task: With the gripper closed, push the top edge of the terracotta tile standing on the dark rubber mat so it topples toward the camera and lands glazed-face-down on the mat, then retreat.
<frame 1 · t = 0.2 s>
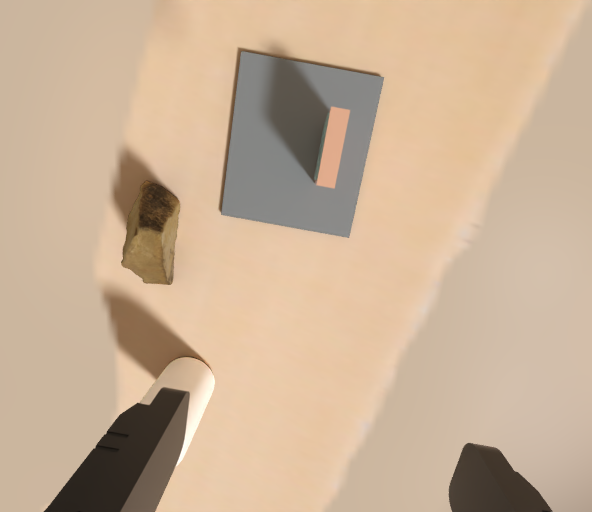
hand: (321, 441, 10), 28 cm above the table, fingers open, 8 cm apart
tile: (327, 155, 34), point 1 cm above the table, touching mat
mat: (298, 150, 35), on the table
rock: (162, 235, 37), on the table
can: (190, 377, 41), on the table
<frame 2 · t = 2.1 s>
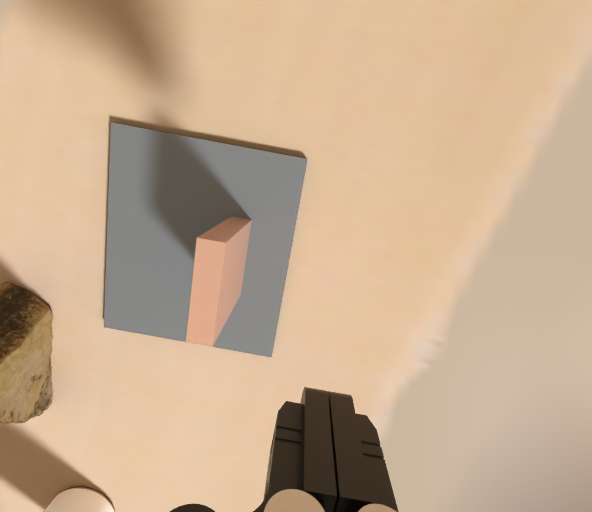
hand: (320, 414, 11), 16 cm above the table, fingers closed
tile: (236, 256, 25), point 1 cm above the table, touching mat
mat: (200, 247, 26), on the table
rock: (34, 346, 29), on the table
can: (87, 507, 33), on the table
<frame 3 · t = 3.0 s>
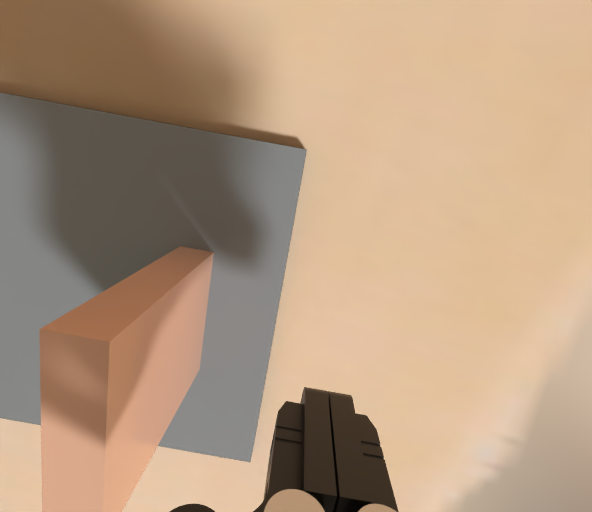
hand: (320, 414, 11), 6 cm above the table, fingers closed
tile: (190, 310, 16), point 1 cm above the table, touching mat
mat: (133, 294, 16), on the table
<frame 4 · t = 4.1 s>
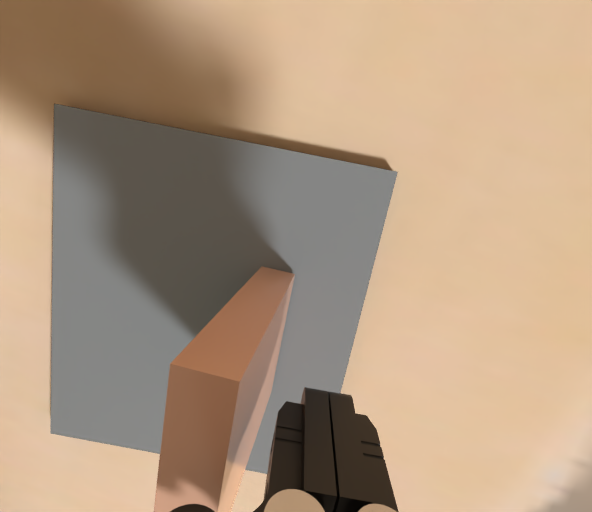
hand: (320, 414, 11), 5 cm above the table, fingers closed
tile: (266, 331, 15), point 1 cm above the table, tilted 6°, touching gripper, mat
mat: (206, 313, 16), on the table
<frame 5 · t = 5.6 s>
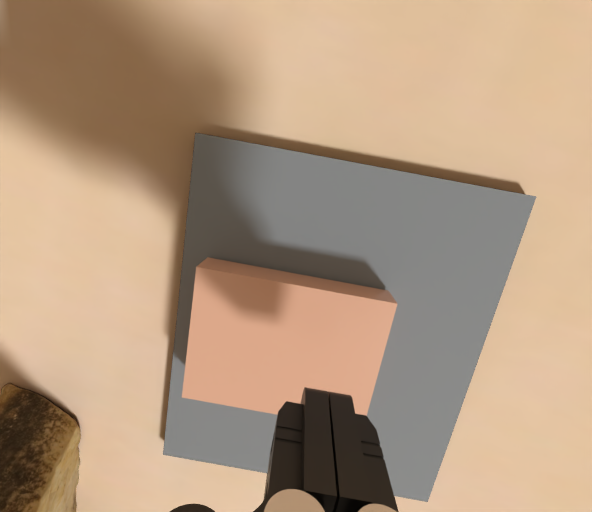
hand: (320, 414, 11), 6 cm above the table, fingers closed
tile: (375, 360, 14), point 1 cm above the table, tilted 90°, touching mat
mat: (326, 335, 16), on the table
rock: (51, 472, 19), on the table
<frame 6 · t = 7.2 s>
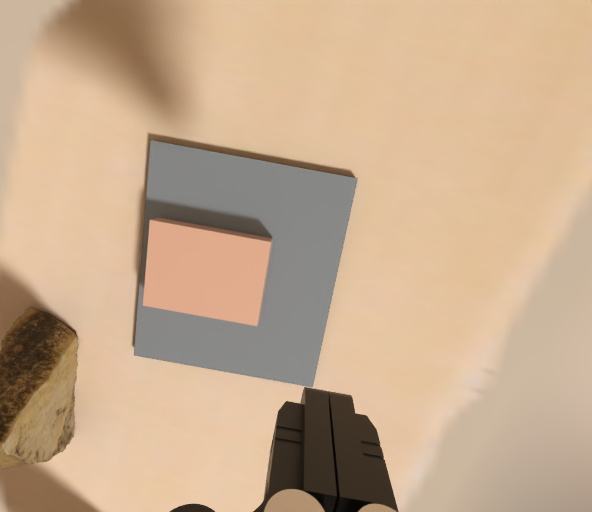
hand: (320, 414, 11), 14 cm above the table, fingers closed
tile: (265, 282, 23), point 1 cm above the table, tilted 90°, touching mat
mat: (239, 270, 24), on the table
rock: (57, 375, 27), on the table
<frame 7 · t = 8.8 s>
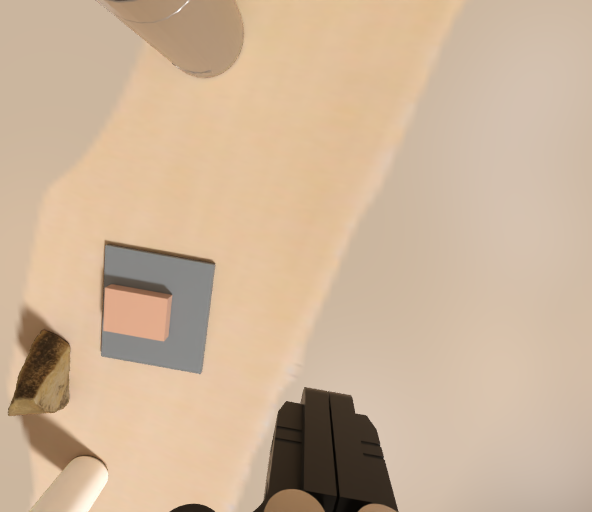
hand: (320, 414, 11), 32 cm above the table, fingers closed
tile: (168, 318, 43), point 1 cm above the table, tilted 90°, touching mat
mat: (157, 310, 45), on the table
rock: (59, 367, 48), on the table
can: (90, 469, 52), on the table
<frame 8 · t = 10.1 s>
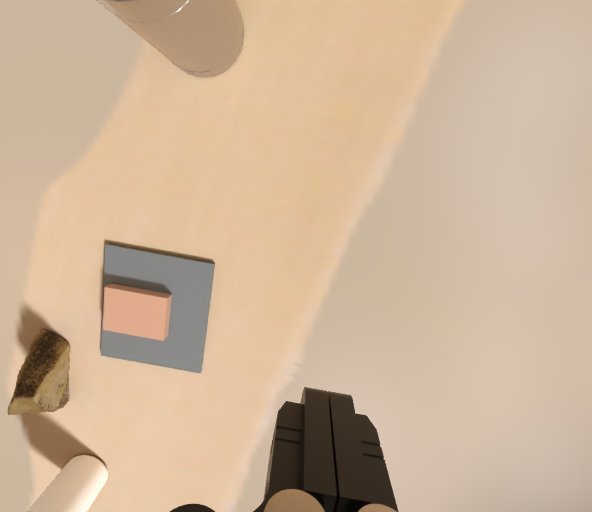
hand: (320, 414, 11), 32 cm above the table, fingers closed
tile: (167, 317, 43), point 1 cm above the table, tilted 90°, touching mat
mat: (156, 310, 45), on the table
rock: (58, 366, 48), on the table
can: (89, 468, 52), on the table
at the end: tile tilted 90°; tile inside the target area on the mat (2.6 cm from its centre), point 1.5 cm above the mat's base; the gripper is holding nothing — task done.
